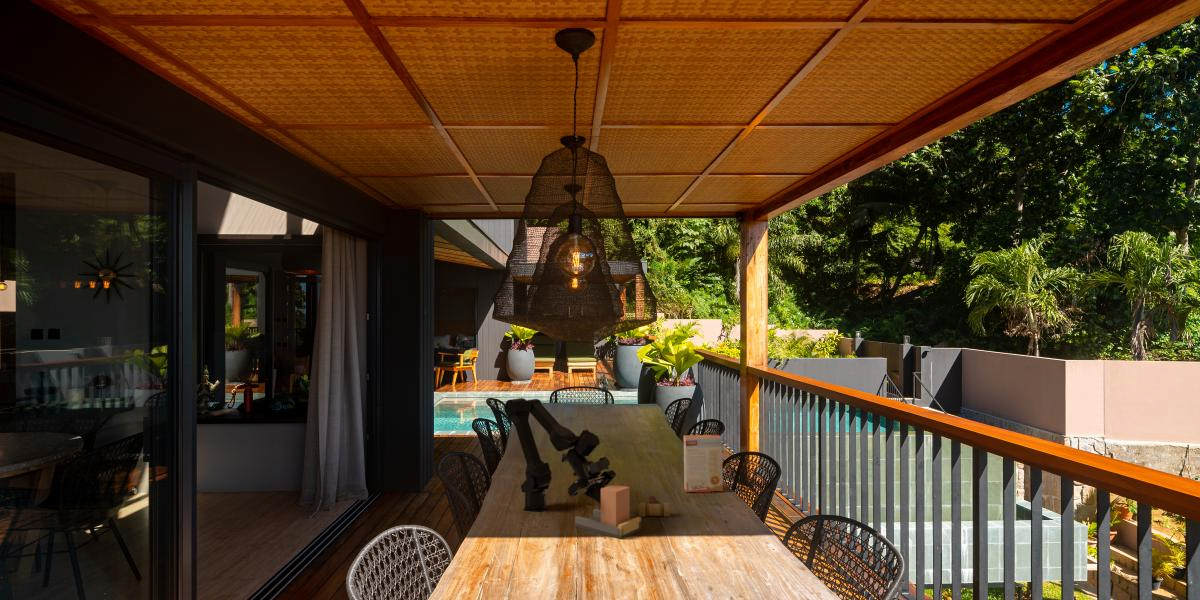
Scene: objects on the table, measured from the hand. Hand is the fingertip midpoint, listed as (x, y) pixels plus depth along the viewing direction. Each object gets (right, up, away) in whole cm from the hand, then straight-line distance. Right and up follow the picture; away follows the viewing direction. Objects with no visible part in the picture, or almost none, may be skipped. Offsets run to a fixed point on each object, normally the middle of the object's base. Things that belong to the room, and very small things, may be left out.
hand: (606, 505), depth 205 cm
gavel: (+16, -8, +21) cm, 28 cm away
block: (+3, -6, -2) cm, 7 cm away
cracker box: (+37, -8, +42) cm, 57 cm away
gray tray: (0, -7, 0) cm, 7 cm away
